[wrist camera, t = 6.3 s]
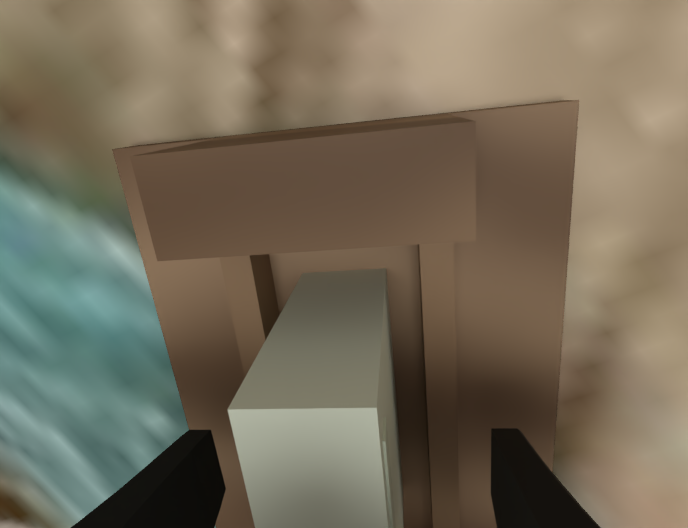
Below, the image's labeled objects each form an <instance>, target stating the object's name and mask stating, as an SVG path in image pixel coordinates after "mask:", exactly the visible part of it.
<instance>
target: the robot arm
mask: <svg viewBox="0 0 688 528" xmlns="http://www.w3.org/2000/svg"><path fill="white" fill-rule="evenodd" d="M225 490H226V487H225V483H224V479H223V475H222V471H221V467H220V463H219V459H218V455H217V451H216V447H215V443H214V439H213V435H212V432H211V430H189V431H187V432H186V433H185V434H184V435H182V436H181V437H180V438H179V439H178V440H176V441H175V442H174V443H173V444H172V445H171V446H169V447H168V448H167V449H166V450H165V451H164V452H162V453H161V454H160V455H159V456H158V457H157V458H156V459H154V460H153V461H152V462H151V463H150V464H149V465H147V466H146V467H145V468H144V469H143V470H142V471H140V472H139V473H138V474H137V475H136V476H135V477H133V478H132V479H131V480H130V481H129V482H128V483H126V484H125V485H124V486H123V487H122V488H120V489H119V490H118V491H117V492H116V493H114V494H113V495H112V496H111V497H109V498H108V499H107V500H106V501H104V502H103V503H102V504H101V505H99V506H98V507H97V508H95V509H94V510H93V511H92V512H90V513H89V514H88V515H87V516H85V517H84V518H83V519H82V520H80V521H79V522H78V523H76V524H75V525H74V526H73V527H71V528H214V527H215V524H216V520H217V517H218V514H219V511H220V508H221V504H222V501H223V497H224V494H225ZM491 498H492V503H493V509H494V514H495V520H496V525H497V528H600V526H599V525H598V524H597V523H596V522H595V521H594V520H593V519H592V518H591V517H590V516H589V515H588V513H587V512H586V511H585V510H584V509H583V508H582V507H581V506H580V504H579V503H578V502H577V501H576V500H575V499H574V497H573V496H572V495H571V494H570V493H569V492H568V491H567V489H566V488H565V487H564V486H563V485H562V484H561V482H560V481H559V480H558V479H557V477H556V476H555V475H554V474H553V473H552V471H551V470H550V469H549V467H548V466H547V465H546V464H545V462H544V461H543V460H542V459H541V457H540V456H539V455H538V453H537V452H536V451H535V449H534V448H533V447H532V445H531V444H530V443H529V441H528V440H527V439H526V437H525V436H524V434H523V433H522V432H521V431H520V430H519V429H518V428H491Z"/></svg>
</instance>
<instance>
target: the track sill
mask: <svg viewBox="0 0 688 528" xmlns="http://www.w3.org/2000/svg"><path fill="white" fill-rule="evenodd" d="M578 109H579V100H567V101H555V102H545V103H536V104H526V105H517V106H507V107H498V108H488V109H479V110H469V111H460V112H451V113H441V114H432V115H422V116H413V117H403V118H394V119H384V120H375V121H365V122H356V123H346V124H337V125H327V126H318V127H308V128H299V129H290V130H280V131H271V132H261V133H252V134H242V135H233V136H223V137H214V138H204V139H195V140H185V141H176V142H166V143H157V144H147V145H138V146H130V147H124V148H118V149H112V150H113V154H114V158H115V161H116V165H117V168H118V172H119V176H120V179H121V183H122V187H123V190H124V194H125V198H126V201H127V205H128V208H129V212H130V216H131V219H132V223H133V227H134V230H135V234H136V238H137V241H138V245H139V249H140V252H141V256H142V259H143V263H144V267H145V270H146V274H147V278H148V281H149V285H150V289H151V292H152V296H153V299H154V303H155V307H156V310H157V314H158V318H159V321H160V325H161V329H162V332H163V336H164V340H165V343H166V347H167V350H168V354H169V358H170V361H171V365H172V369H173V372H174V376H175V380H176V383H177V387H178V390H179V394H180V398H181V401H182V405H183V409H184V412H185V416H186V420H187V423H188V427H189V430H211V432H212V435H213V439H214V443H215V447H216V451H217V455H218V459H219V463H220V467H221V471H222V475H223V479H224V483H225V487H226V490H225V494H224V497H223V501H222V504H221V508H220V511H219V514H218V517H217V520H216V524H215V525H216V528H255V525H254V521H253V517H252V512H251V508H250V504H249V500H248V495H247V491H246V487H245V483H244V478H243V474H242V470H241V465H240V461H239V457H238V453H237V448H236V444H235V440H234V436H233V431H232V427H231V423H230V418H229V414H228V410H227V409H228V408H229V406H230V404H231V402H232V400H233V399H234V397H235V395H236V393H237V391H238V389H239V388H240V386H241V384H242V382H243V380H244V379H245V377H246V375H247V373H248V371H249V370H250V368H251V366H252V364H253V362H254V360H255V359H256V357H257V355H258V353H259V351H260V350H261V348H262V346H263V344H264V342H265V341H266V339H267V337H268V335H269V333H270V331H271V330H272V328H273V326H274V324H275V322H276V321H277V319H278V317H279V315H280V313H281V312H282V310H283V308H284V306H285V304H286V302H287V301H288V299H289V297H290V295H291V293H292V292H293V290H294V288H295V286H296V284H297V283H298V281H299V279H300V277H301V275H302V273H312V272H329V271H347V270H364V269H382V268H386V272H387V285H388V298H389V311H390V324H391V337H392V350H393V363H394V376H395V389H396V402H397V415H398V428H399V441H400V454H401V467H402V480H403V522H404V528H497V525H496V520H495V514H494V509H493V503H492V498H491V428H518V429H519V430H520V431H521V432H522V433H523V434H524V436H525V437H526V439H527V440H528V441H529V443H530V444H531V445H532V447H533V448H534V449H535V451H536V452H537V453H538V455H539V456H540V457H541V459H542V460H543V461H544V462H545V464H546V465H547V466H548V467H549V469H550V470H551V471H552V473H553V459H554V445H555V431H556V417H557V403H558V389H559V375H560V361H561V347H562V333H563V319H564V305H565V291H566V277H567V263H568V249H569V235H570V221H571V207H572V193H573V179H574V165H575V151H576V137H577V123H578Z"/></svg>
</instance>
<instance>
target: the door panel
mask: <svg viewBox="0 0 688 528" xmlns="http://www.w3.org/2000/svg"><path fill="white" fill-rule="evenodd" d="M227 410H228V414H229V418H230V423H231V427H232V431H233V436H234V440H235V444H236V448H237V453H238V457H239V461H240V465H241V470H242V474H243V478H244V483H245V487H246V491H247V495H248V500H249V504H250V508H251V512H252V517H253V521H254V525H255V528H404V522H403V480H402V467H401V454H400V441H399V428H398V415H397V402H396V389H395V376H394V363H393V350H392V337H391V324H390V311H389V298H388V285H387V272H386V268H382V269H364V270H347V271H329V272H312V273H302V275H301V277H300V279H299V281H298V283H297V284H296V286H295V288H294V290H293V292H292V293H291V295H290V297H289V299H288V301H287V302H286V304H285V306H284V308H283V310H282V312H281V313H280V315H279V317H278V319H277V321H276V322H275V324H274V326H273V328H272V330H271V331H270V333H269V335H268V337H267V339H266V341H265V342H264V344H263V346H262V348H261V350H260V351H259V353H258V355H257V357H256V359H255V360H254V362H253V364H252V366H251V368H250V370H249V371H248V373H247V375H246V377H245V379H244V380H243V382H242V384H241V386H240V388H239V389H238V391H237V393H236V395H235V397H234V399H233V400H232V402H231V404H230V406H229V408H228V409H227Z"/></svg>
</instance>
